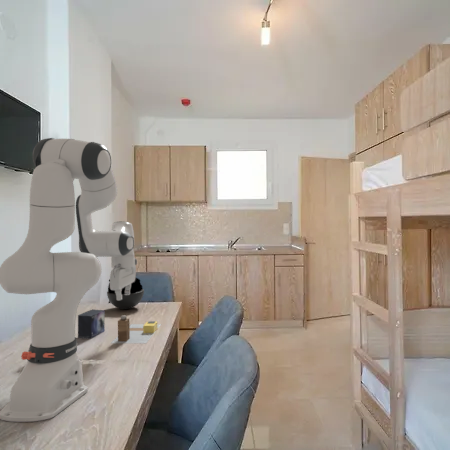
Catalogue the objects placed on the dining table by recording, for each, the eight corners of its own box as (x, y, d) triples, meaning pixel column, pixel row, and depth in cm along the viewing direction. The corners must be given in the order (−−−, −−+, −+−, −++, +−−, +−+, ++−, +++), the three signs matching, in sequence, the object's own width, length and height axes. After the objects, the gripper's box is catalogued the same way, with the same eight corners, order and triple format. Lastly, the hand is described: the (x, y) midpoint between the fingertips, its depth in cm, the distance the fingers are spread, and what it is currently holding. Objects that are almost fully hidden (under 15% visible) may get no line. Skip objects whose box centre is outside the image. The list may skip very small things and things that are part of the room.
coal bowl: (151, 307, 200) (151, 274, 200) (124, 314, 184) (124, 278, 184) (127, 303, 211) (126, 272, 211) (99, 310, 194) (99, 276, 194)
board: (146, 346, 135) (146, 343, 135) (110, 346, 136) (110, 343, 136) (161, 326, 161) (161, 324, 161) (131, 326, 162) (131, 324, 162)
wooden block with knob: (126, 341, 138) (126, 317, 138) (118, 341, 138) (117, 317, 138) (129, 338, 141) (129, 314, 141) (121, 338, 141) (120, 314, 141)
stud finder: (154, 332, 148) (153, 325, 148) (143, 332, 148) (143, 325, 148) (157, 328, 155) (157, 320, 155) (147, 328, 155) (147, 320, 155)
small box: (91, 341, 141) (91, 315, 141) (77, 341, 143) (76, 315, 143) (105, 333, 152) (105, 309, 152) (91, 333, 153) (91, 309, 153)
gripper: (122, 265, 129) (122, 303, 129) (138, 259, 149) (138, 292, 150) (105, 265, 129) (105, 303, 129) (123, 259, 150) (124, 292, 150)
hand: (123, 297), depth 140 cm, fingers open, 8 cm apart
